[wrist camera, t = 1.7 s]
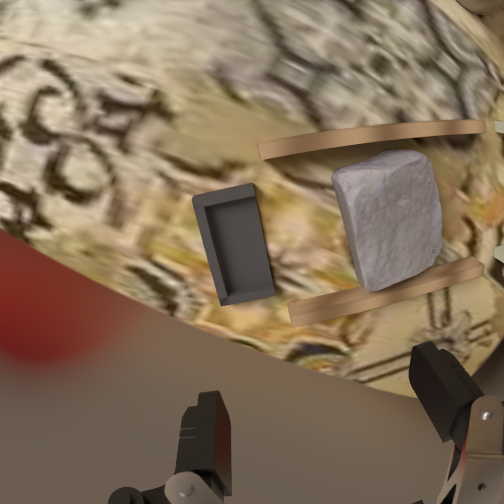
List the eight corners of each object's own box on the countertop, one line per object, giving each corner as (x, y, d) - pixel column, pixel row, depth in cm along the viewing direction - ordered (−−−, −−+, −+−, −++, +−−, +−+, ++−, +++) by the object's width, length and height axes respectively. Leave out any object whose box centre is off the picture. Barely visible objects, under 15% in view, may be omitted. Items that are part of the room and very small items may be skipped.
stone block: (403, 139, 27) (318, 171, 26) (437, 142, 23) (346, 178, 22) (422, 244, 32) (349, 285, 31) (451, 259, 28) (376, 307, 27)
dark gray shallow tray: (252, 182, 27) (253, 185, 25) (273, 287, 30) (275, 295, 29) (193, 195, 27) (191, 199, 25) (221, 297, 30) (221, 306, 29)
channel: (469, 119, 25) (485, 120, 22) (471, 265, 31) (483, 274, 28) (256, 143, 25) (258, 144, 23) (289, 313, 31) (293, 327, 29)
